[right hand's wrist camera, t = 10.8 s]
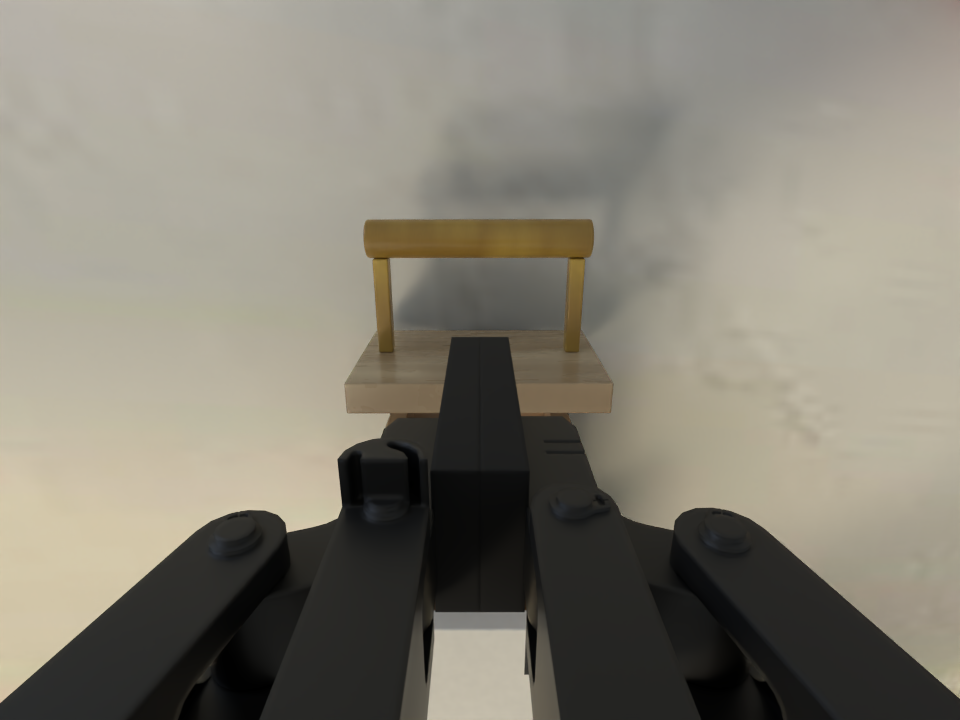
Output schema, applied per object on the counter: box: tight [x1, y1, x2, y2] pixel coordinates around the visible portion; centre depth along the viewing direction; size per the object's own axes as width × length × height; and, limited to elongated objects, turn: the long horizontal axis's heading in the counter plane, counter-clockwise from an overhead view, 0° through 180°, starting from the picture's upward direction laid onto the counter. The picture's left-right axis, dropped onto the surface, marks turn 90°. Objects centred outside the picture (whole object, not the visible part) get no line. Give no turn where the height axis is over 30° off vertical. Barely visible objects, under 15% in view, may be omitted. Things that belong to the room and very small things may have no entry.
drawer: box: [344, 219, 613, 610], centre depth 25 cm, size 24×10×6 cm, turn 0°
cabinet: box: [427, 610, 533, 720], centre depth 30 cm, size 20×11×8 cm, turn 0°
